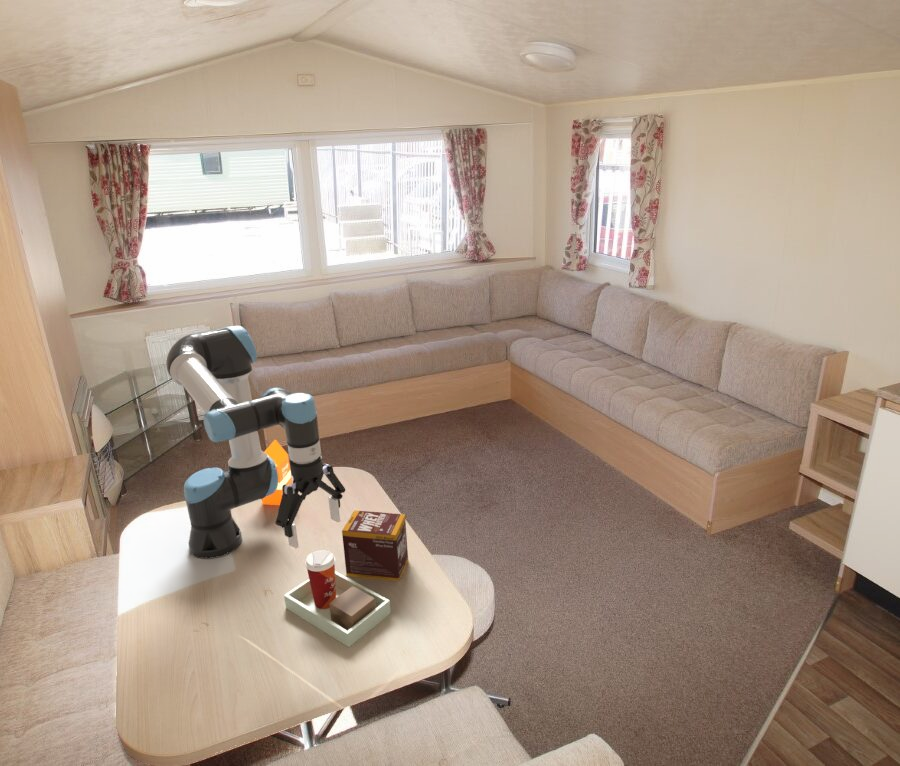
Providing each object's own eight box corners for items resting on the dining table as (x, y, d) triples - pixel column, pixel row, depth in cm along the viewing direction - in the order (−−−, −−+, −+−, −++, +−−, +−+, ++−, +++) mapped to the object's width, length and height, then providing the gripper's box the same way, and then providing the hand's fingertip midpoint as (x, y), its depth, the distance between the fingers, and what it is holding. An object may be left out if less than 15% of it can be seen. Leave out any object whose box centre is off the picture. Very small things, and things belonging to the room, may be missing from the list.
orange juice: (261, 504, 221) (253, 450, 214) (272, 490, 229) (264, 438, 222) (284, 505, 220) (275, 451, 213) (294, 491, 228) (286, 439, 221)
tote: (286, 609, 172) (284, 595, 170) (328, 580, 183) (326, 566, 181) (349, 649, 158) (347, 634, 157) (391, 614, 169) (389, 600, 167)
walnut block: (331, 622, 166) (329, 603, 164) (354, 604, 172) (352, 586, 170) (353, 635, 161) (351, 616, 159) (376, 617, 167) (374, 598, 165)
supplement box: (399, 583, 180) (395, 535, 175) (346, 578, 183) (340, 530, 178) (409, 560, 190) (406, 513, 184) (358, 555, 193) (353, 509, 187)
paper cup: (337, 612, 170) (331, 566, 165) (307, 612, 170) (301, 567, 165) (342, 591, 177) (337, 547, 172) (314, 592, 177) (308, 548, 172)
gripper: (272, 484, 146) (284, 563, 154) (354, 441, 164) (361, 514, 172) (252, 474, 151) (265, 551, 159) (333, 434, 169) (341, 505, 177)
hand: (315, 532), depth 165 cm, fingers open, 13 cm apart
